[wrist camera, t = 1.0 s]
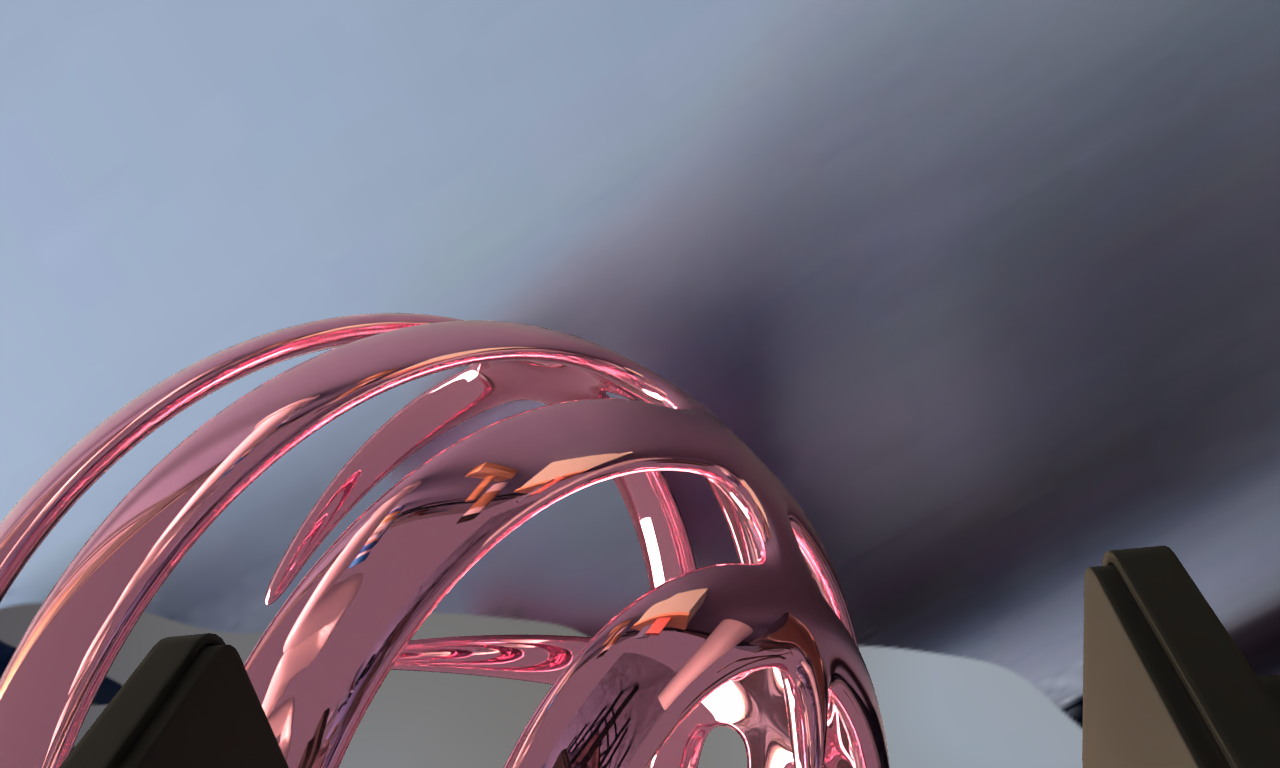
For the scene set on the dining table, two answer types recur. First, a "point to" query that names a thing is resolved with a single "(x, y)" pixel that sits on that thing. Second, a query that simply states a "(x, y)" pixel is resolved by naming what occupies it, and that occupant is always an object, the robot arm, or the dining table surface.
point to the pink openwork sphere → (457, 555)
